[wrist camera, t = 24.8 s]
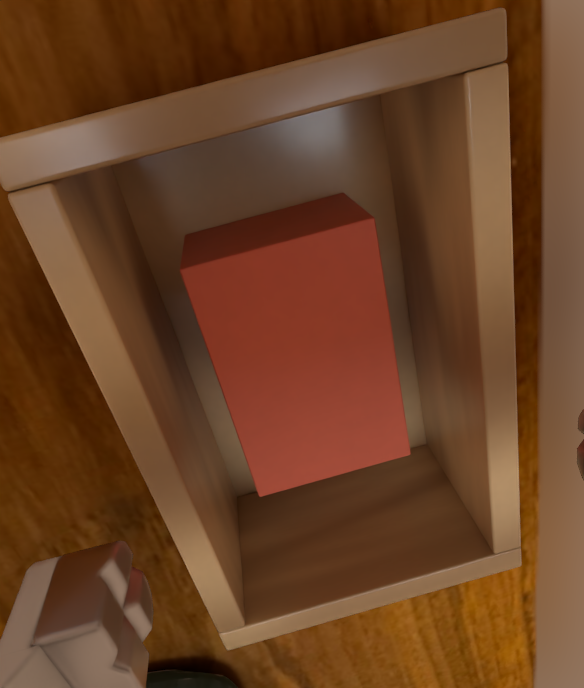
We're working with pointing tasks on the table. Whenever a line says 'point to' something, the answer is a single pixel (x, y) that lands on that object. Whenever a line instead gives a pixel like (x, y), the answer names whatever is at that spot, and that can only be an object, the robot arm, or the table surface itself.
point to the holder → (402, 295)
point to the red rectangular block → (300, 339)
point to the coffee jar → (187, 680)
